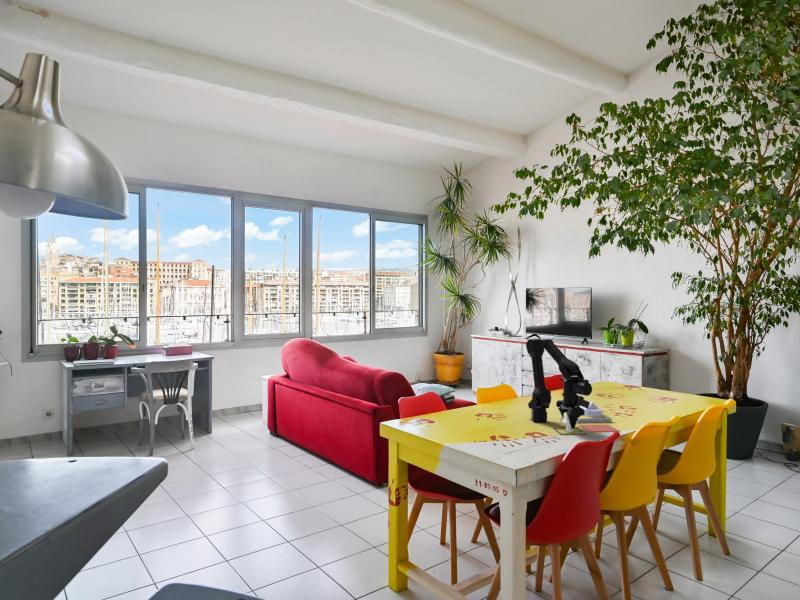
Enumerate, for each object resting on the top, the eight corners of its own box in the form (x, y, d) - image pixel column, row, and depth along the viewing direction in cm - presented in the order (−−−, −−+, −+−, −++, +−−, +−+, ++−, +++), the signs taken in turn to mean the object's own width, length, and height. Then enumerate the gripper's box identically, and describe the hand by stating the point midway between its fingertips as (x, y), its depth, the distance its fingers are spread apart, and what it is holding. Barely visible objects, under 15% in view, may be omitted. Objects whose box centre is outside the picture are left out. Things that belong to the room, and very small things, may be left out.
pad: (589, 432, 233) (589, 431, 233) (578, 425, 245) (578, 424, 245) (620, 431, 233) (620, 431, 233) (607, 425, 245) (607, 424, 245)
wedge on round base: (573, 413, 270) (594, 418, 258) (573, 400, 269) (594, 404, 258) (585, 411, 274) (606, 416, 263) (585, 398, 274) (606, 403, 263)
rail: (562, 422, 249) (562, 419, 249) (560, 421, 251) (560, 418, 251) (611, 422, 250) (611, 419, 250) (609, 421, 253) (609, 417, 253)
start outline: (560, 434, 228) (560, 433, 228) (552, 428, 239) (552, 427, 239) (588, 434, 229) (588, 433, 229) (578, 427, 240) (578, 427, 240)
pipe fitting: (571, 428, 238) (571, 411, 238) (580, 432, 231) (580, 414, 231) (559, 429, 237) (559, 412, 237) (567, 433, 230) (568, 415, 230)
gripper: (596, 395, 225) (596, 432, 225) (579, 387, 244) (579, 421, 244) (571, 396, 224) (570, 432, 225) (555, 388, 243) (555, 421, 243)
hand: (569, 426), depth 234 cm, fingers closed on pipe fitting, 7 cm apart
